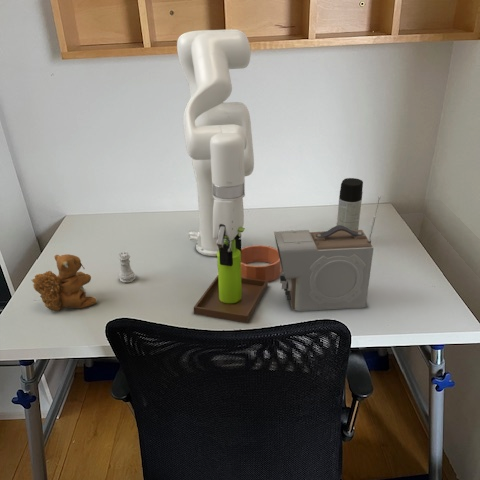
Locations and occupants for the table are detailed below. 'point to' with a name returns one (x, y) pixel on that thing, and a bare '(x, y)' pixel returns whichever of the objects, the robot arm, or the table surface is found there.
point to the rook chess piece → (125, 268)
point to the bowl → (263, 255)
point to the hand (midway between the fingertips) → (230, 258)
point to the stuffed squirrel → (64, 285)
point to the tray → (232, 311)
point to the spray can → (350, 203)
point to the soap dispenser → (230, 275)
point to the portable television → (325, 267)
